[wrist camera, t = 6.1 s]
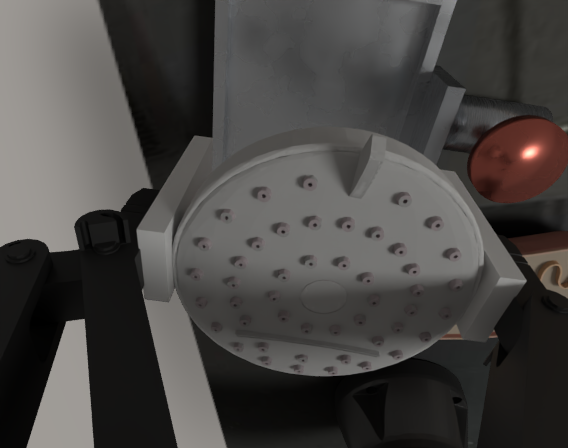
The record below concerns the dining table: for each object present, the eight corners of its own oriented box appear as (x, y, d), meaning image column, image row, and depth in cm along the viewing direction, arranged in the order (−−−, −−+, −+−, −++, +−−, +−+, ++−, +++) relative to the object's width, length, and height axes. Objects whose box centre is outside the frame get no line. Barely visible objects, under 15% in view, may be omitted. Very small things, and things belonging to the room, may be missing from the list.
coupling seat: (216, 173, 31) (194, 227, 25) (222, -46, 23) (191, -45, 17) (478, 209, 32) (519, 270, 26) (578, 9, 23) (673, 29, 17)
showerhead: (593, 181, 8) (420, 418, 14) (474, 86, 14) (387, 280, 20) (156, 100, 8) (162, 381, 14) (220, 36, 14) (205, 250, 19)
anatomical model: (608, 204, 31) (653, 243, 27) (569, 293, 37) (602, 336, 33) (321, 221, 33) (323, 258, 29) (326, 302, 39) (328, 343, 35)
